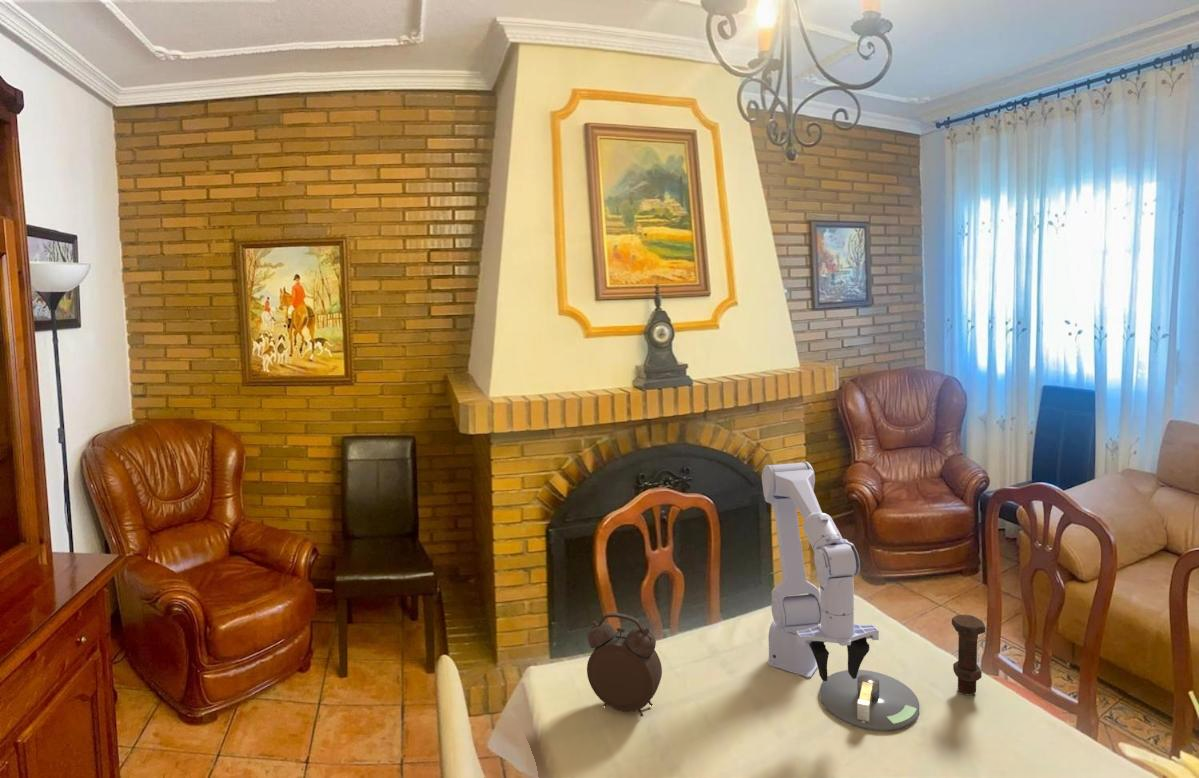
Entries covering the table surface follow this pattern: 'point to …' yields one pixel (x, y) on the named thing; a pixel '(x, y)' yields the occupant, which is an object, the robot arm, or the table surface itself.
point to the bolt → (967, 652)
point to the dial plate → (886, 712)
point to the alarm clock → (623, 665)
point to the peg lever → (866, 695)
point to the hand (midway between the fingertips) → (837, 676)
